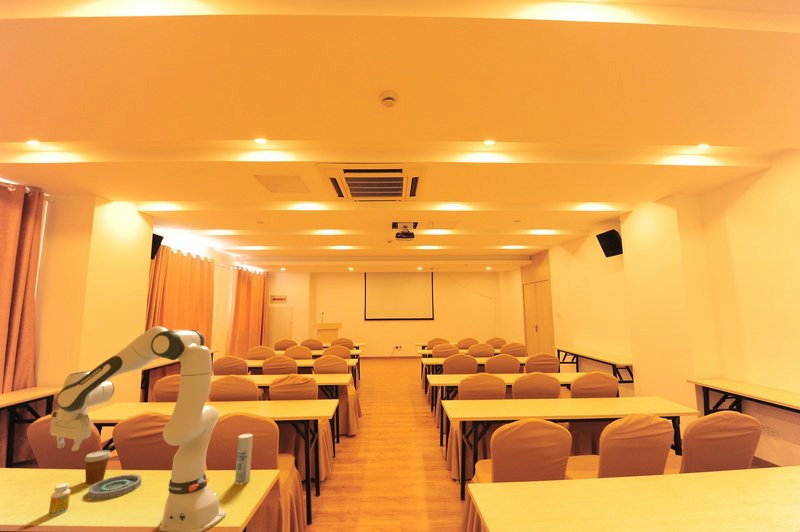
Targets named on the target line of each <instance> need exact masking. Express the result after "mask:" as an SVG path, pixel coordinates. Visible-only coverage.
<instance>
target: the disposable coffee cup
mask: <svg viewBox="0 0 800 532" xmlns="http://www.w3.org/2000/svg"><path fill="white" fill-rule="evenodd" d="M111 455H112V453H111V450H107V449H105V450H97V451H93V452H90V453H88V454H87V455H86V456H85V457H84V462H85V484H86V485H94V484H95V483H97V482H99V481H102V480H105V474H106V473H107V472H106V471H107V467H108V463H109V460H110V457H111ZM93 483H94V484H93Z"/></svg>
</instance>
